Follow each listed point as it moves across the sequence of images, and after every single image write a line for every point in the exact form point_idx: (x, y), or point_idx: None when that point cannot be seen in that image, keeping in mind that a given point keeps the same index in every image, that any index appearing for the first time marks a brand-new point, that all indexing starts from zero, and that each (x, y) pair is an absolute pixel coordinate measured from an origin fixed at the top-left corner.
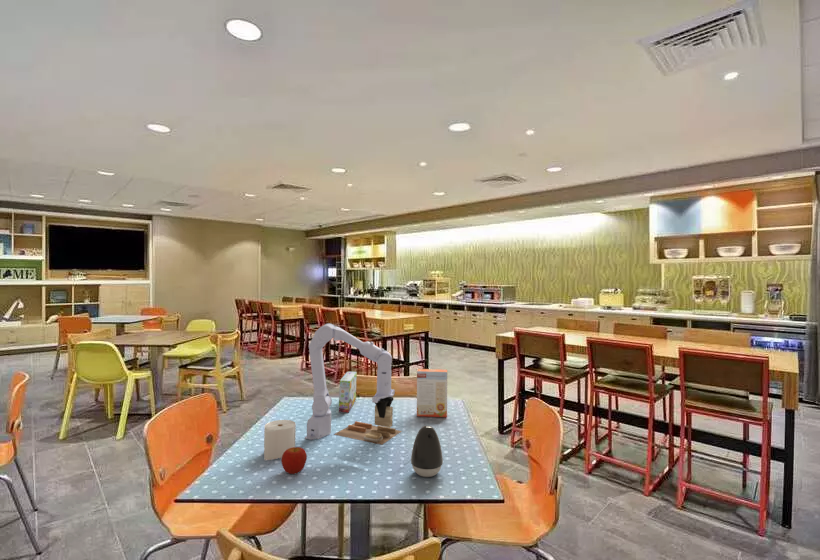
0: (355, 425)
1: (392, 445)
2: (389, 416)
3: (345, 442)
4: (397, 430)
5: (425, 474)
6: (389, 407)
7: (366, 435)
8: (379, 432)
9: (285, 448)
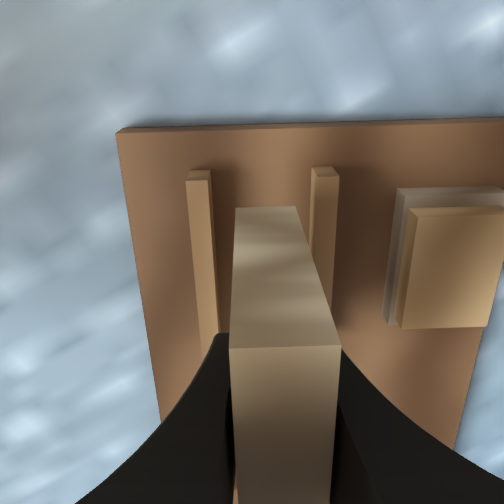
0: None
1: (426, 60)
2: (313, 273)
3: (486, 393)
4: (129, 183)
5: None
6: (294, 382)
7: (484, 313)
8: (330, 272)
9: None
